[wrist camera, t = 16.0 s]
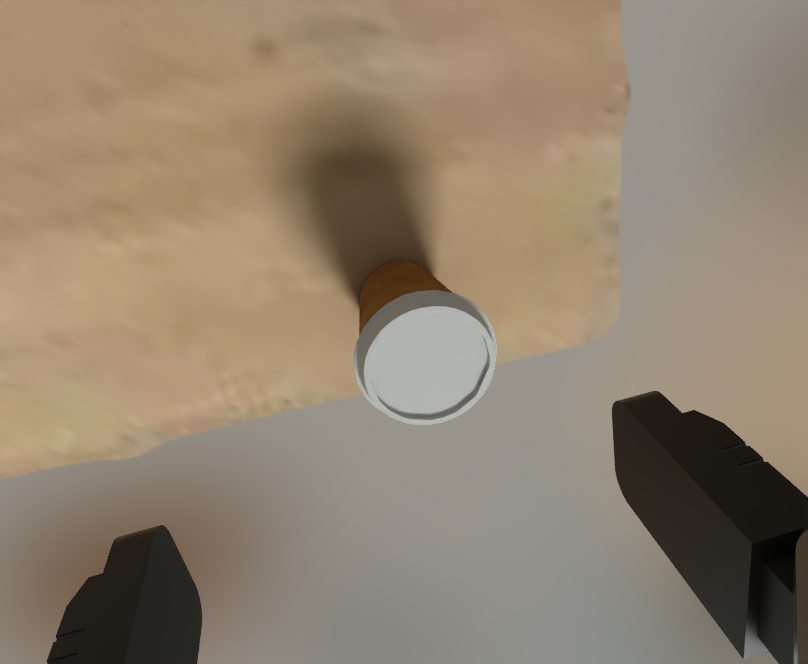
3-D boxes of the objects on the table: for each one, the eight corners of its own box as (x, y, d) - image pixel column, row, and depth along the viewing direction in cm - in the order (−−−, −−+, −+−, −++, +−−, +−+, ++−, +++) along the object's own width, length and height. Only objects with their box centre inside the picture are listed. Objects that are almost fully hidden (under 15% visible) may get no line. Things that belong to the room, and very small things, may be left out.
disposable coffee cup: (392, 371, 54) (420, 455, 43) (313, 296, 50) (324, 368, 39) (479, 298, 53) (530, 367, 42) (406, 215, 49) (442, 267, 38)
